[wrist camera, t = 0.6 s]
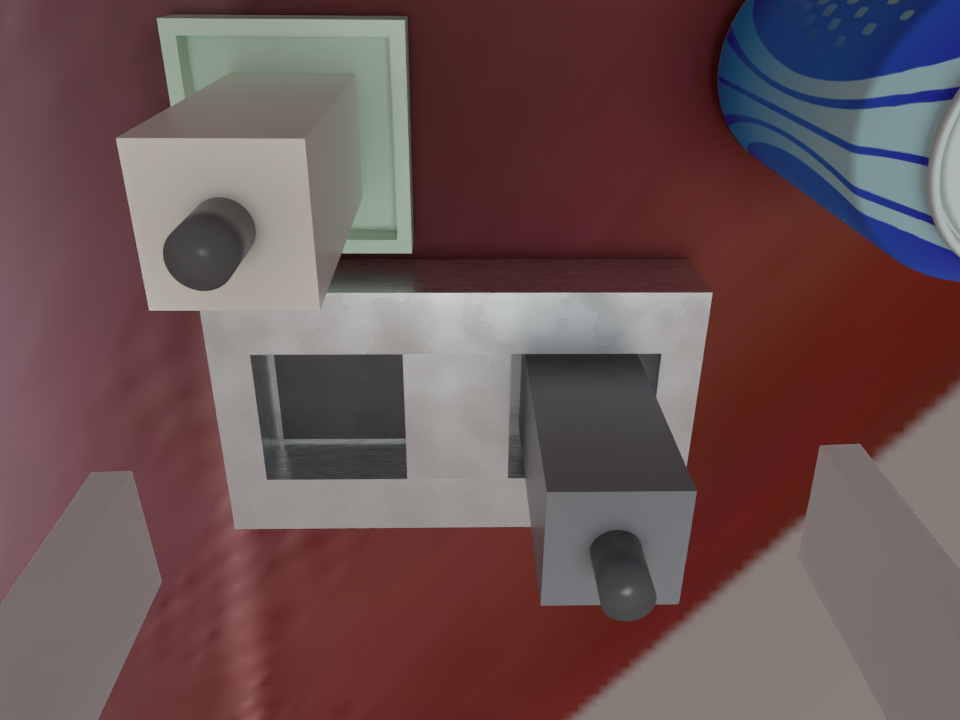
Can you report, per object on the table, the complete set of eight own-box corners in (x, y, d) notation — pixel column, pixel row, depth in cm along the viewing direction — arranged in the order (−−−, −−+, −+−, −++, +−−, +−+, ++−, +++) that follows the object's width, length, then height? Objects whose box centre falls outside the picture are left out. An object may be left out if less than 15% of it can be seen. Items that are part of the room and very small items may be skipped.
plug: (229, 73, 32) (78, 159, 20) (355, 74, 32) (288, 160, 20) (244, 196, 35) (118, 346, 22) (362, 197, 35) (306, 346, 22)
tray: (171, 14, 32) (156, 18, 30) (407, 16, 32) (404, 20, 30) (205, 239, 36) (194, 253, 34) (414, 239, 36) (412, 253, 35)
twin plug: (522, 336, 38) (554, 539, 25) (629, 336, 38) (717, 538, 25) (518, 428, 40) (547, 657, 27) (620, 427, 40) (696, 655, 27)
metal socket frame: (222, 258, 36) (196, 293, 33) (688, 258, 37) (712, 292, 33) (254, 479, 42) (235, 529, 38) (659, 476, 42) (677, 525, 39)
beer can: (705, 173, 35) (871, 330, 21) (711, -42, 31) (921, -29, 17) (900, 154, 35) (1202, 299, 21) (931, -66, 31) (1328, -72, 17)
